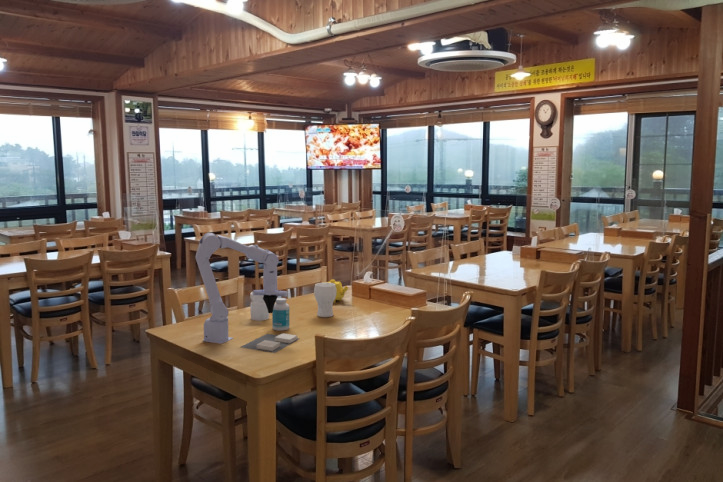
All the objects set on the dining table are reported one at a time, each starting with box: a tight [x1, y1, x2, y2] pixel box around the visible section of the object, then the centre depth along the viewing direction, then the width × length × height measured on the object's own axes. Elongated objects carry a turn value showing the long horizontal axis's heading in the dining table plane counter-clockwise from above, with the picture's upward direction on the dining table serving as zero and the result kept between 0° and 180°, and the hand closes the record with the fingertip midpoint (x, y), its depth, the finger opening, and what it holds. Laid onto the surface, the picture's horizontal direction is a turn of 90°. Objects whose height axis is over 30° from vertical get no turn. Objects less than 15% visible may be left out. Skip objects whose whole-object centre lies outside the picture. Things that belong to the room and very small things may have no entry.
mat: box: [240, 333, 301, 354], centre depth 233 cm, size 16×20×1 cm
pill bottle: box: [271, 297, 290, 332], centre depth 252 cm, size 8×7×14 cm
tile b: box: [275, 333, 298, 343], centre depth 236 cm, size 2×6×7 cm
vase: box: [249, 291, 270, 321], centre depth 269 cm, size 9×9×12 cm
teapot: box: [327, 279, 349, 304], centre depth 305 cm, size 14×14×11 cm
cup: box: [313, 281, 336, 318], centre depth 276 cm, size 11×11×15 cm
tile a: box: [257, 340, 280, 351], centre depth 227 cm, size 2×6×7 cm
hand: (270, 312), depth 242 cm, fingers closed
